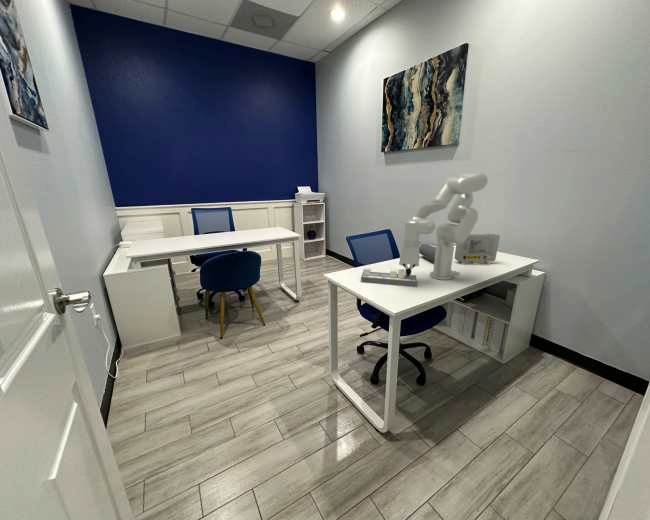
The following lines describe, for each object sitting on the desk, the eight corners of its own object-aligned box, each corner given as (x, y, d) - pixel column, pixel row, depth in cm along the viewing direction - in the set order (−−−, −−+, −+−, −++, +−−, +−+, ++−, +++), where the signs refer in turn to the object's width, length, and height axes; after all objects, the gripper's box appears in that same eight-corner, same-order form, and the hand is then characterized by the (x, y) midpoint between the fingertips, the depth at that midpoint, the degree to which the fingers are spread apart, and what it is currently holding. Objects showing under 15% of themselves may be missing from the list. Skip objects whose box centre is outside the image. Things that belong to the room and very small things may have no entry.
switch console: (415, 280, 159) (416, 274, 158) (416, 286, 150) (417, 281, 149) (363, 275, 166) (363, 270, 165) (361, 281, 157) (361, 276, 156)
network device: (489, 261, 192) (495, 232, 186) (496, 265, 184) (502, 235, 178) (452, 261, 193) (456, 232, 187) (457, 265, 185) (462, 235, 179)
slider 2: (404, 275, 158) (404, 269, 157) (404, 278, 153) (404, 272, 152) (397, 274, 159) (398, 268, 158) (397, 277, 154) (398, 271, 153)
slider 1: (370, 272, 162) (370, 266, 161) (369, 275, 158) (369, 269, 157) (364, 271, 163) (364, 266, 162) (363, 274, 159) (363, 269, 158)
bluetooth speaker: (448, 265, 184) (450, 250, 181) (435, 266, 182) (437, 251, 179) (428, 255, 205) (430, 242, 202) (417, 256, 203) (418, 243, 200)
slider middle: (396, 274, 159) (397, 268, 158) (396, 277, 154) (396, 271, 153) (390, 274, 160) (390, 268, 159) (390, 277, 155) (390, 271, 154)
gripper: (424, 242, 151) (421, 274, 156) (396, 241, 154) (394, 272, 160) (426, 245, 144) (422, 278, 149) (396, 244, 147) (394, 276, 153)
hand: (407, 275), depth 155 cm, fingers closed
